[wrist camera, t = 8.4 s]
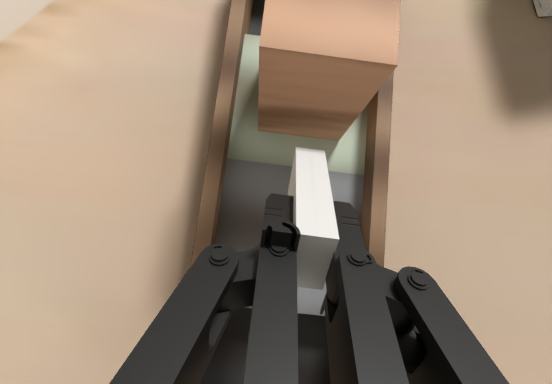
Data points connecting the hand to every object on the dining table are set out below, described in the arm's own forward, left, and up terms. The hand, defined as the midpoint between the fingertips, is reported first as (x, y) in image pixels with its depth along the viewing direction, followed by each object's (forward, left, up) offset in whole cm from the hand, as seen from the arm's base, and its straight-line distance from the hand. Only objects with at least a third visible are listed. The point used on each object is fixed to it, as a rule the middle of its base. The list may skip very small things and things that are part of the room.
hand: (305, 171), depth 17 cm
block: (+6, -4, -6) cm, 9 cm away
